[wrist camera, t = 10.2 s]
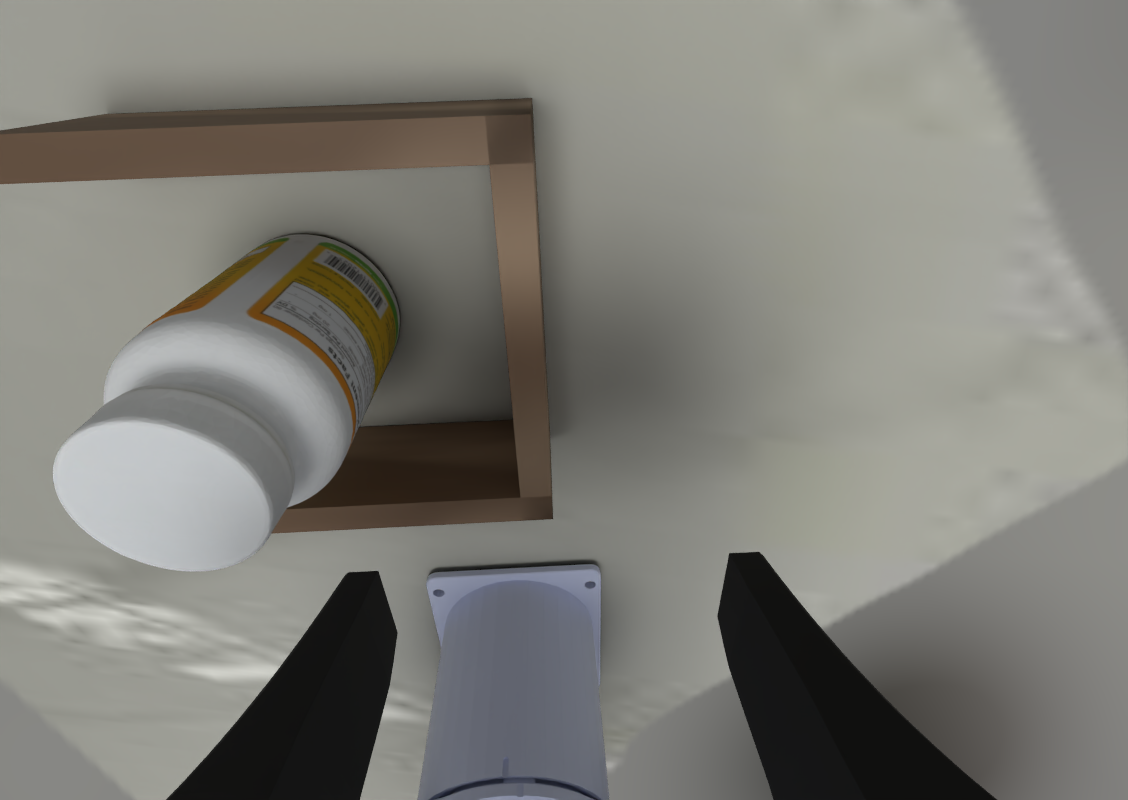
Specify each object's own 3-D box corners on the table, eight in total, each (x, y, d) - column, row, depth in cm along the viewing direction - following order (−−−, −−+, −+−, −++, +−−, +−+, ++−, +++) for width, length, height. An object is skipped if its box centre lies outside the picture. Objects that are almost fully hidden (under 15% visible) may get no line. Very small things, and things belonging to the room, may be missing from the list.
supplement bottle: (250, 370, 20) (57, 588, 12) (226, 219, 18) (-46, 371, 9) (403, 385, 21) (317, 604, 13) (403, 242, 18) (294, 404, 10)
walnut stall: (550, 438, 23) (553, 518, 19) (245, 453, 22) (185, 537, 19) (532, 98, 16) (530, 114, 12) (105, 114, 16) (-29, 135, 12)
